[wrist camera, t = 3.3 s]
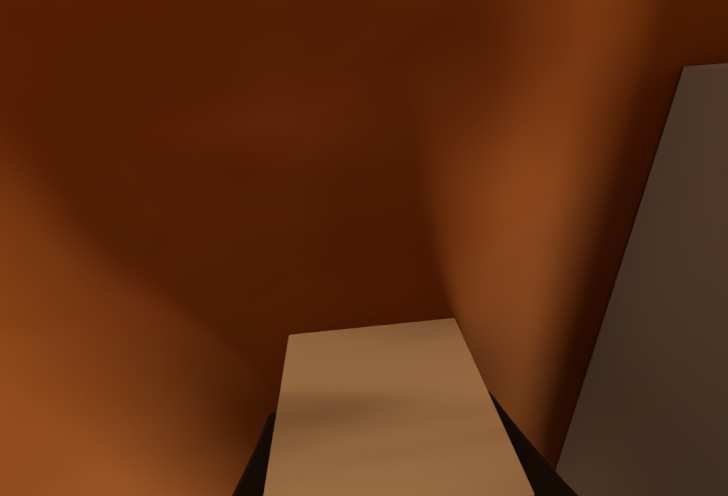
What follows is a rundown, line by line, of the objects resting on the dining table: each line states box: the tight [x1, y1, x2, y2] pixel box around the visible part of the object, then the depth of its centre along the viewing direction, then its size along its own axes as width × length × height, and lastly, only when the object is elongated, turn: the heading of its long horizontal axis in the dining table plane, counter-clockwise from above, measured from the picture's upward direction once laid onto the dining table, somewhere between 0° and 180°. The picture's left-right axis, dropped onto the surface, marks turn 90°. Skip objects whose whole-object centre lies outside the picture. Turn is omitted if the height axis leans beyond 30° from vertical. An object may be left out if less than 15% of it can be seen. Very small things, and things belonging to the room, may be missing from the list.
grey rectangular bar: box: [555, 63, 728, 496], centre depth 10 cm, size 18×2×5 cm, turn 4°
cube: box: [263, 318, 534, 496], centre depth 10 cm, size 5×5×5 cm
